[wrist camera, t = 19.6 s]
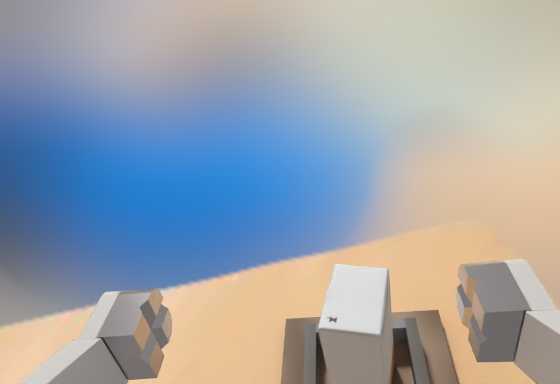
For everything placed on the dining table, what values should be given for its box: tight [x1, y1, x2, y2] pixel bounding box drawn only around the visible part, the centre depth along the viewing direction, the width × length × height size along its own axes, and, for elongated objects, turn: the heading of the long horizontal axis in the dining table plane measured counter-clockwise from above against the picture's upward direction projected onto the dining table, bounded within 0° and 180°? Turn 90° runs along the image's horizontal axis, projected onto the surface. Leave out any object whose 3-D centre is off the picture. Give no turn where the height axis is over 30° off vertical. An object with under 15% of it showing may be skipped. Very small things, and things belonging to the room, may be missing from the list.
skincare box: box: [318, 264, 394, 384], centre depth 32 cm, size 6×4×12 cm
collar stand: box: [281, 310, 458, 384], centre depth 36 cm, size 15×15×4 cm
